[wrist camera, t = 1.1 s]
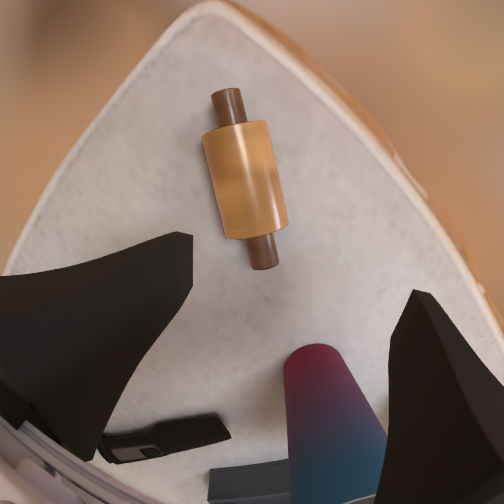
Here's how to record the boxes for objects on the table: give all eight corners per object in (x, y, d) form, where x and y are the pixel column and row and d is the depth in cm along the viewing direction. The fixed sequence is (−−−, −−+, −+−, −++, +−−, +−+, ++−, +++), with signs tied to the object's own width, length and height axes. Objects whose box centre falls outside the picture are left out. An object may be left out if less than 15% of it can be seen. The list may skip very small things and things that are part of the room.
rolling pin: (236, 262, 23) (233, 283, 19) (198, 105, 20) (187, 93, 16) (292, 250, 23) (300, 268, 19) (256, 92, 20) (258, 76, 16)
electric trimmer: (239, 426, 27) (239, 450, 24) (115, 453, 29) (108, 473, 26) (221, 400, 26) (219, 424, 23) (95, 431, 28) (86, 451, 25)
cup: (362, 336, 25) (444, 479, 10) (340, 399, 26) (388, 537, 12) (280, 330, 24) (312, 500, 10) (266, 396, 26) (279, 551, 12)
